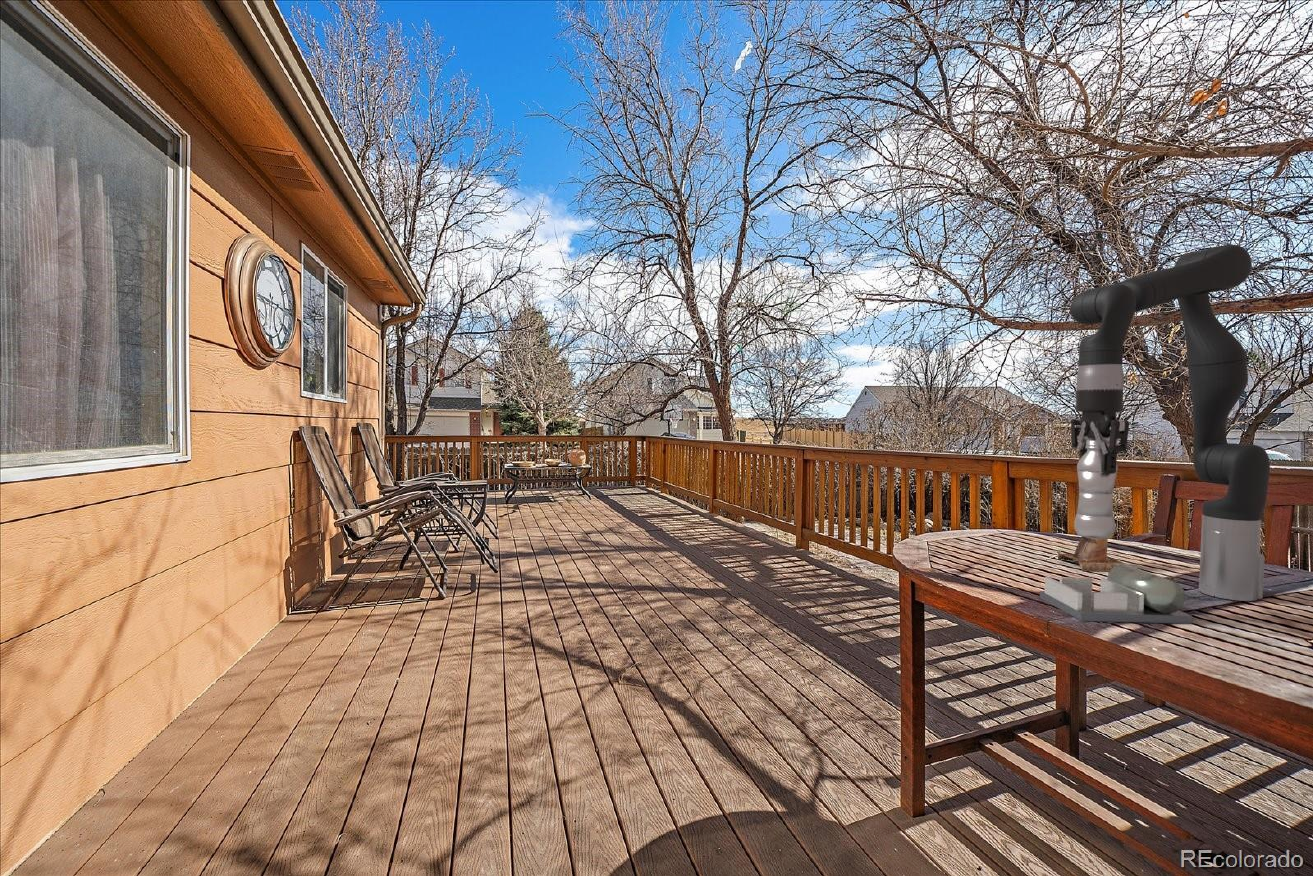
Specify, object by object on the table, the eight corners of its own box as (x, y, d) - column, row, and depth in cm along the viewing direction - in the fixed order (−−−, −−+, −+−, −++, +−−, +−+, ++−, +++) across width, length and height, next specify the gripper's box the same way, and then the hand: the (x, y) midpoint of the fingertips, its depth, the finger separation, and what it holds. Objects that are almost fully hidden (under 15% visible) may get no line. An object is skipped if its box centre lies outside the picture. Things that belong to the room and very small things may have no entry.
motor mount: (1137, 600, 126) (1139, 563, 126) (1191, 623, 112) (1193, 582, 112) (1039, 597, 128) (1040, 561, 127) (1081, 621, 114) (1082, 580, 113)
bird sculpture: (1054, 562, 159) (1054, 443, 157) (1099, 561, 159) (1100, 442, 157) (1082, 573, 148) (1083, 446, 146) (1130, 572, 148) (1132, 445, 146)
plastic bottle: (1075, 533, 124) (1077, 438, 123) (1115, 538, 120) (1119, 439, 119) (1072, 539, 119) (1075, 440, 118) (1114, 543, 115) (1118, 441, 114)
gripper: (1146, 386, 111) (1143, 475, 111) (1095, 389, 125) (1092, 468, 126) (1104, 387, 111) (1101, 475, 112) (1058, 389, 125) (1055, 467, 126)
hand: (1096, 471), depth 119 cm, fingers closed on plastic bottle, 6 cm apart
